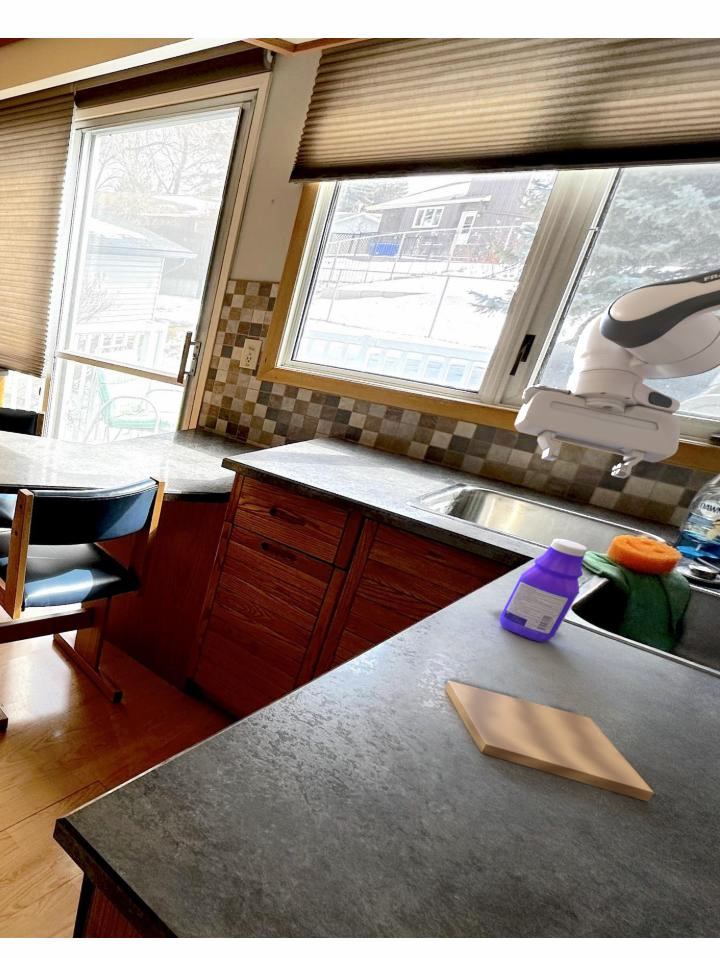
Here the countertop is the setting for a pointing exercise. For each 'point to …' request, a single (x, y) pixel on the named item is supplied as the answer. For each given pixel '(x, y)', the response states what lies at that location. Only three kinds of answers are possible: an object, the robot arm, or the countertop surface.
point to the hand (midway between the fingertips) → (584, 467)
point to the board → (545, 740)
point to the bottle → (545, 592)
